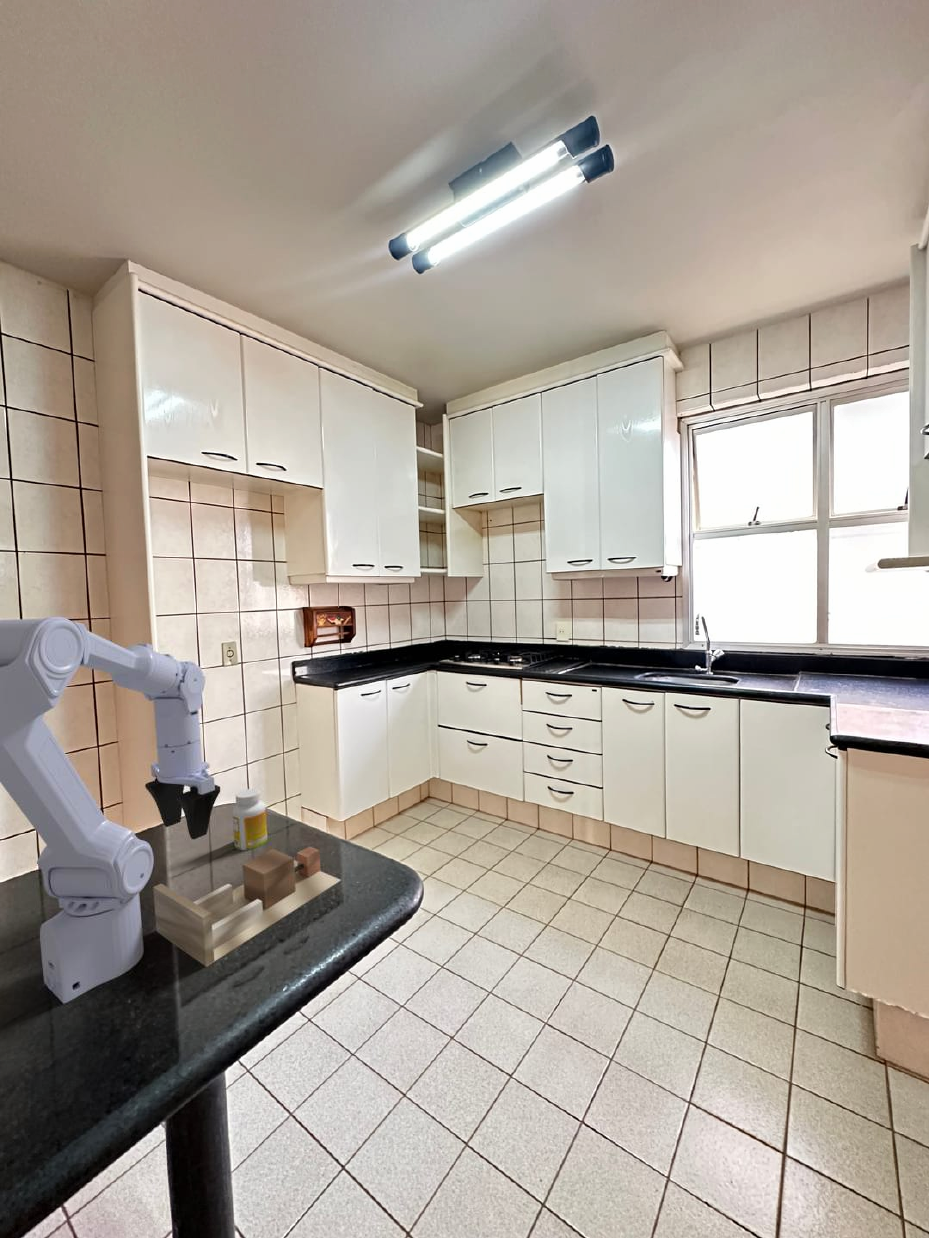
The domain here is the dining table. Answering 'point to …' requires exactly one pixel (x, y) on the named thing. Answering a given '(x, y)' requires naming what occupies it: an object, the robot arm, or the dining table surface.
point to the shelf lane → (226, 915)
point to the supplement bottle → (249, 820)
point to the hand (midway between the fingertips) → (185, 830)
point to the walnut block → (277, 874)
